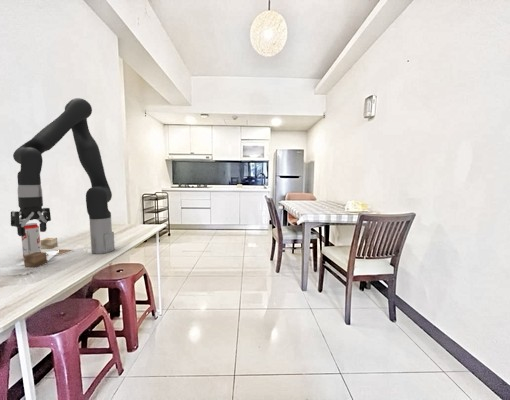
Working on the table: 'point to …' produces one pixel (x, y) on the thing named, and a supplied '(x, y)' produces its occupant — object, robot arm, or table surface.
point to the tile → (63, 251)
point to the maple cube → (48, 243)
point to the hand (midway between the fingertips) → (33, 233)
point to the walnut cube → (35, 259)
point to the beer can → (31, 239)
